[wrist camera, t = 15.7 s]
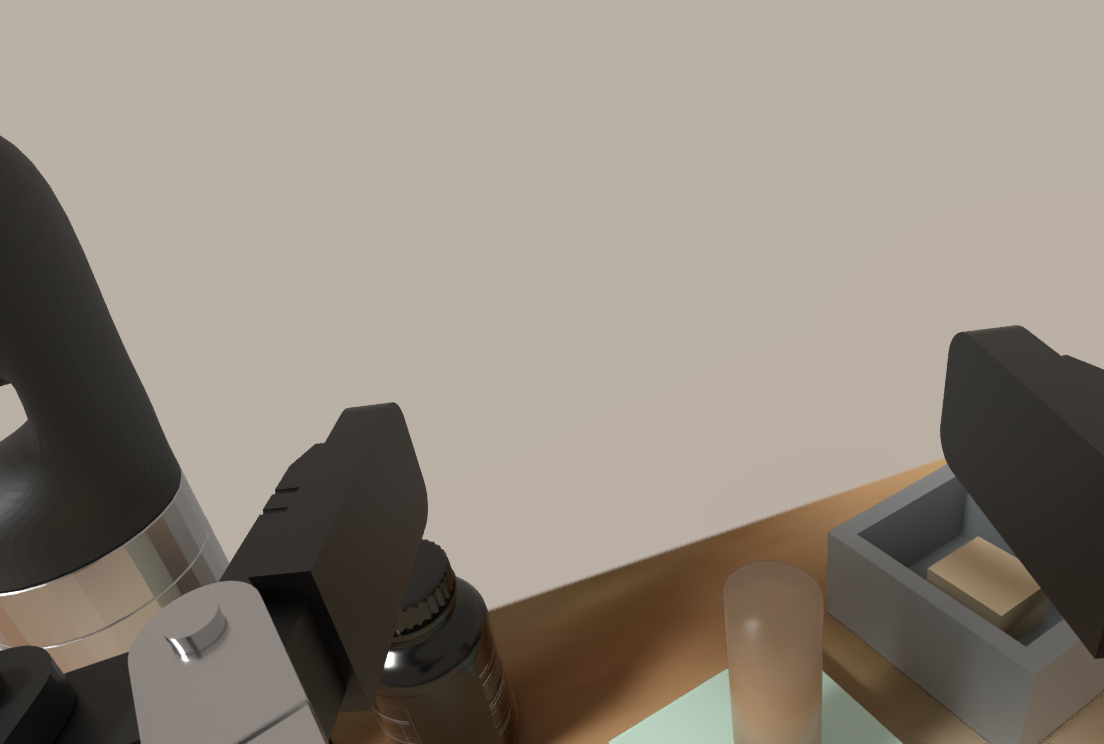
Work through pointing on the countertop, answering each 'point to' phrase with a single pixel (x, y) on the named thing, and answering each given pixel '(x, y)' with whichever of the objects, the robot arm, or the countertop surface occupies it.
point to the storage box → (953, 617)
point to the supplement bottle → (444, 665)
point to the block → (992, 586)
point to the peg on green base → (766, 674)
